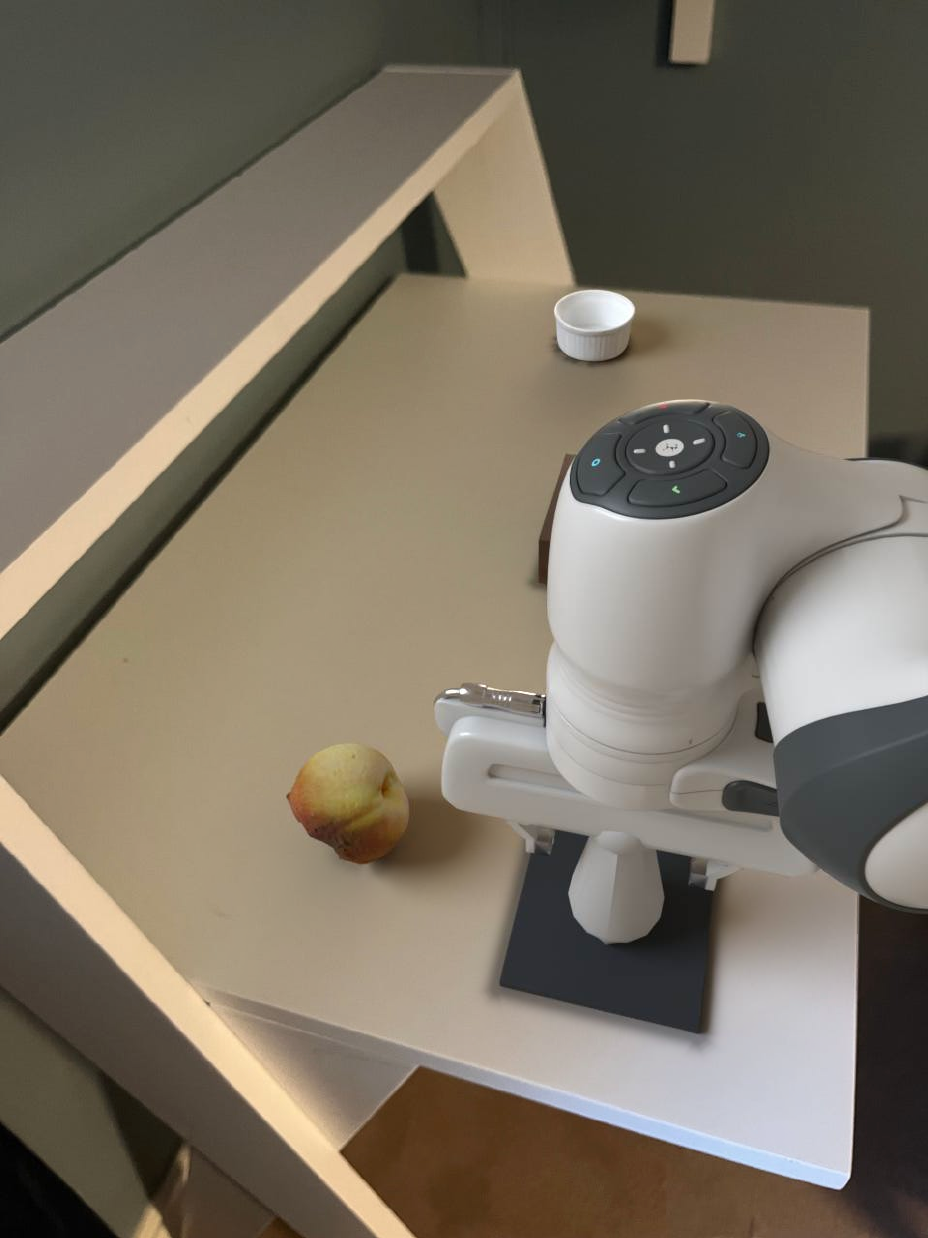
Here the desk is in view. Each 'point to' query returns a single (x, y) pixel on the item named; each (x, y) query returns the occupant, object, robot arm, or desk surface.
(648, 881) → the salt shaker
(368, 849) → the fruit
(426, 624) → the desk surface
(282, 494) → the desk surface
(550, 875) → the mat
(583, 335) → the ramekin
